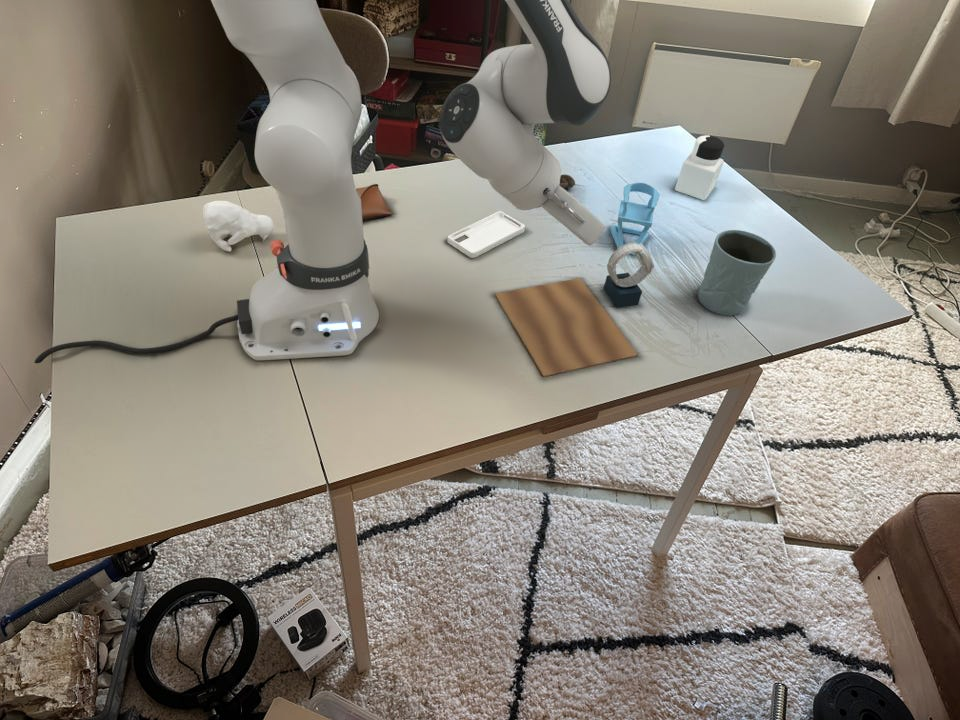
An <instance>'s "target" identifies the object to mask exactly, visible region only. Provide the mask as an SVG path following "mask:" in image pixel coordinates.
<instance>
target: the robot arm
mask: <svg viewBox="0 0 960 720" xmlns="http://www.w3.org/2000/svg"><path fill="white" fill-rule="evenodd" d="M504 1H505V3H506V4H507V6H508V8H509V9H510V11H511V12H512V15H513V16H514V17H515V19H516V20H517V22H518V24H519V26H520V27H521V29H522V31H523V32H524V34H525V35H526V37H527V38H528V40H529V42H530V43H525V44H523V43H522V44H517V45H511V46H506V47H501V48H497V49H494V50H492V51H491V52H489V53H488V54H487V55H485V57H484V58H483V60H482V61H481V64H480V66H479V68H478V71H477V72H476V74H475V75H474V76H473V77H472V78H471V79H470V80H468V81H467V82H465V83H461V84H459V85H458V86H456V87H455V88H454V89H452V91H451V92H450V93H449V94H448V95H447V96H446V98H445V100H444V102H443V104H442V107H441V109H440V113H439V119H438V125H439V126H438V127H439V132H440V134H441V136H442V138H443V139H442V140H444V142H445V144H446V145H447V147H448V148H449V149H450V151H451V152H452V153H453V154H454V155H455V156H456V157H457V159H459V161H460V162H462V163H463V165H465V166H466V167H467V168H468V169H469V170H471V171H472V172H473V173H474V174H475V175H476V176H478V177H479V178H481V179H483V180H486V181H488V182H489V185H490V186H491V188H492V189H493V190H494V191H495V192H496V193H498V194H499V195H500V196H502V198H503V199H505V200H506V202H508V203H509V204H511V206H513V207H514V208H515V209H517V210H520V211H530V210H531V211H532V210H534V209H539V208H542V209H543V210H544V211H546V212H547V213H548V214H549V215H550V216H551V217H553V218H554V219H555V220H556V221H557V222H558V223H560V224H561V225H563V227H564V228H566V229H567V230H568V231H569V232H571V233H572V234H573V235H574V236H576V238H578V239H579V240H580V241H581V242H583V243H584V244H586V245H587V246H592V245H593V244H595V243H596V242H597V241H598V240H599V239H600V238H601V236H602V235H603V233H604V232H605V230H606V226H605V225H606V224H604V223H603V221H601V219H599V217H597V216H596V215H595V214H594V213H593V212H592V211H591V210H590V209H589V208H587V206H586V205H584V203H582V202H581V200H578V199H577V198H576V197H575V196H574V195H572V194H571V193H570V192H568V191H567V190H566V189H565V188H562V187H561V186H559V184H560V177H561V175H562V166H561V163H560V161H559V160H558V159H557V157H555V156H554V155H553V154H552V152H550V150H549V149H548V148H547V147H545V145H544V144H543V143H542V142H541V141H540V140H539V139H538V138H537V137H536V136H535V134H534V129H535V127H536V125H538V124H539V125H540V124H557V125H558V124H559V125H568V126H582V125H585V124H586V123H588V122H589V121H590V120H591V119H592V118H594V116H596V114H597V113H598V112H599V110H600V109H602V106H603V105H604V103H605V101H606V99H607V98H608V95H609V92H610V90H611V85H612V84H611V83H612V72H611V67H610V62H609V60H608V58H607V56H606V54H605V53H606V52H604V50H603V48H602V47H601V46H600V44H599V42H598V41H597V40H596V39H595V38H594V37H593V35H592V34H591V33H590V32H589V31H588V29H587V28H586V27H585V26H584V24H583V22H582V21H581V20H580V18H579V16H578V15H577V13H576V11H575V10H574V8H573V5H572V4H571V1H569V0H504ZM210 2H211V4H212V6H213V9H214V10H215V13H216V15H217V17H218V19H219V21H220V24H221V27H222V28H223V31H224V33H225V35H226V37H227V39H228V41H229V42H230V43H231V45H232V46H233V47H234V48H235V49H236V50H238V51H239V52H241V53H243V54H244V55H245V56H246V57H247V58H248V60H249V61H250V62H251V63H252V65H253V66H254V68H255V70H256V71H257V72H258V74H259V75H260V77H261V78H262V80H263V82H264V84H265V85H266V87H267V91H268V94H269V103H268V105H267V106H266V108H265V110H264V112H263V113H262V115H261V117H260V118H259V121H258V124H257V128H256V134H255V140H254V141H255V142H254V160H255V165H256V168H257V170H258V172H259V174H260V175H261V176H262V178H263V179H264V181H265V182H266V183H267V184H268V185H269V186H271V187H272V188H273V189H274V190H275V194H276V195H277V197H278V201H279V203H280V206H281V210H282V215H283V220H284V227H285V232H286V238H287V245H286V246H285V244H284V241H282V240H280V239H275V240H274V239H273V241H271V243H270V250H271V253H272V255H273V256H274V257H276V264H277V266H276V267H275V268H273V269H272V270H271V271H269V272H268V273H267V274H266V275H264V276H263V277H261V278H260V279H258V280H257V281H255V283H254V284H253V286H252V287H251V289H250V294H249V298H246V299H237V300H236V309H237V314H235V315H231V316H228V317H225V318H222V319H219V320H217V321H215V322H214V323H212V324H211V325H210V327H209V328H208V329H206V330H204V331H203V332H201V333H199V334H197V335H195V336H192V337H189V338H188V339H185V340H182V341H179V342H176V343H172V344H168V345H162V346H156V347H144V348H143V347H141V348H139V347H131V346H126V345H123V344H119V343H117V342H112V341H107V340H84V341H83V340H82V341H73V342H67V343H62V344H57V345H54V346H52V347H50V348H48V349H45V350H44V351H43V352H41V353H40V354H39V355H38V356H37V357H36V358H35V360H34V364H40V363H42V362H43V361H44V360H45V359H46V358H47V357H49V356H50V355H52V354H54V353H57V352H60V351H63V350H68V349H74V348H84V347H104V348H109V349H115V350H117V351H121V352H124V353H128V354H135V355H137V354H138V355H147V354H156V353H164V352H168V351H172V350H173V351H174V350H177V349H180V348H183V347H185V346H186V347H187V346H188V345H191V344H193V343H196V342H199V341H200V340H203V339H205V338H207V337H209V336H210V335H212V334H213V333H214V332H215V331H216V330H217V328H219V327H221V326H224V325H226V324H229V323H233V322H236V321H237V333H238V334H237V335H238V339H239V342H240V346H241V347H242V349H243V350H244V352H245V353H246V354H247V355H248V356H249V358H251V359H253V360H254V361H276V360H291V359H308V358H325V357H326V358H327V357H341V356H342V357H343V356H349V355H351V354H352V353H353V354H354V352H355V351H356V349H357V347H358V345H359V343H360V342H361V341H362V340H363V339H365V338H366V337H368V336H369V335H370V334H371V333H372V332H373V331H374V330H375V328H376V327H377V325H378V322H379V317H380V312H379V308H378V306H377V304H376V302H375V300H374V297H373V294H372V290H371V286H370V282H369V276H370V273H369V272H370V257H369V256H370V255H369V248H368V245H367V243H366V240H365V237H364V222H363V221H362V207H361V198H360V196H359V194H358V193H357V191H356V189H357V188H356V184H355V180H354V175H353V168H352V154H353V146H354V140H355V137H356V132H357V129H358V126H359V123H360V119H361V116H362V109H363V106H362V93H361V88H360V84H359V81H358V79H357V76H356V74H355V73H354V71H353V70H352V69H351V67H350V66H349V65H348V64H347V63H346V61H345V59H344V57H343V55H342V53H341V51H340V49H339V47H338V45H337V43H336V42H335V40H334V37H333V35H332V34H331V32H330V30H329V29H328V26H327V24H326V22H325V20H324V18H323V15H322V13H321V10H320V8H319V5H318V3H317V2H318V1H317V0H210Z"/></svg>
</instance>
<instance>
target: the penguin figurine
mask: <svg viewBox="0 0 960 720" xmlns="http://www.w3.org/2000/svg"><path fill="white" fill-rule="evenodd" d="M202 218H203V221H204V225H205V226H206V229H207V231H208V236H209V238H211V239H212V240H213V242H214V243H215V244H216V246H218V247H219V248H220V249H221V250H224V251H225V252H228V253H230V252H232V246H231V245H236V244H237V243H239V242H241V241H242V240H244V239H245V238H249V237H251V236H255V235H258V236H259V237H260V238H262V242H264V241H265V240H266V239H267V238H268V237H269V236H270V235H271V233H272V232H273V231H274V229H275V223H274V221H273V218H271V217H270V216H268V215H265V214H255V213H254V212H250V211H249V210H248V209H247V208H244V207H242V206H241V205H239V204H236V203H233V202H231V201H229V200H213V201H210V202H207V203H205V204H204V205H203V207H202ZM228 235H230V236H231V237H230V238H229V239H228V240H227V241H226V240H224V239H226V238H227V237H228Z"/></svg>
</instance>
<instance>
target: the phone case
mask: <svg viewBox="0 0 960 720" xmlns="http://www.w3.org/2000/svg"><path fill="white" fill-rule="evenodd" d="M510 219H511V220H510ZM513 221H514V222H513ZM516 223H517V224H516ZM518 224H519V225H518ZM525 229H526V225H525V224H524V223H522V222H521V221H519V220H517V219H516V218H514V217H512V216H511V215H509V214H507V213H506V212H504V211H502V210H499V211H496V212H494V213H492V214H490V215H488V216H486V217H484V218H482V219H480V220H477V221H475V222H473V223H471V224H469V225H467V226H465V227H463V228H461V229H459V230H457V231H454V232H452V233H449V235H448V236H447V243H448V244H449V245H451V246H452V247H453V248H455V249H456V250H458V251H460V252H461V253H463V254H464V255H466V256H467V257H469V258H470V259H475V258H477V257H479V256H481V255H483V254H485V253H487V252H489V251H491V250H493V249H494V248H496V247H498V246H500V245H502V244H505V243H506V242H508V241H510V240H512V239H514V238H516V237H518V236H520V235H521V234H523V233H524V232H525ZM463 236H465V237H467V238H466V239H464V240H462V241H460V242H458V241H456V240H457V239H459V238H461V237H463Z"/></svg>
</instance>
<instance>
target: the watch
mask: <svg viewBox="0 0 960 720" xmlns="http://www.w3.org/2000/svg"><path fill="white" fill-rule="evenodd" d="M622 247H623V248H622ZM632 252H633V253H634V252H635V255H634V256H635V257H636V259H637V261H638V263H639V265H640V267H639V268H638V270H637V271H636V272H634V273H633V274H632V275H631V274H630V273H629V272H623V273H617V270H616V269H617V264H618V263H619V262H620V261H621V260H622V259H623V258H625V257H626V256H628V255H630V254H631V253H632ZM631 255H632V254H631ZM654 268H655V263H654V261H653V258H652V256H651V254H650V253H649V251H648V249H647V248H646V247H645V245H644V244H641V243H639V244H637V243H636V241H634V242H628V243H624V245H623V246H621V247H619V248H618V249H617V248H616V250H614V251H613V253H611V255H610V257H609V259H608V262H607V264H606V269H607V272H608V275H606V278H605V281H604V285H603V287H602V288H603V291H604V293H605V294H606V295H607V297H608V298H609V300H610V301H611V303H612V304H613V306H614V307H615V308H616V309H621V308H628V307H634V306H639V304H640V301H641V296H642V294H643V290H642V289H641V287H640V286H639V285H638V284H640V283H641V282H643V281H644V280H645V279H646V278H647V276H649V275H650V274H651V273H652V270H653V269H654Z"/></svg>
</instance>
